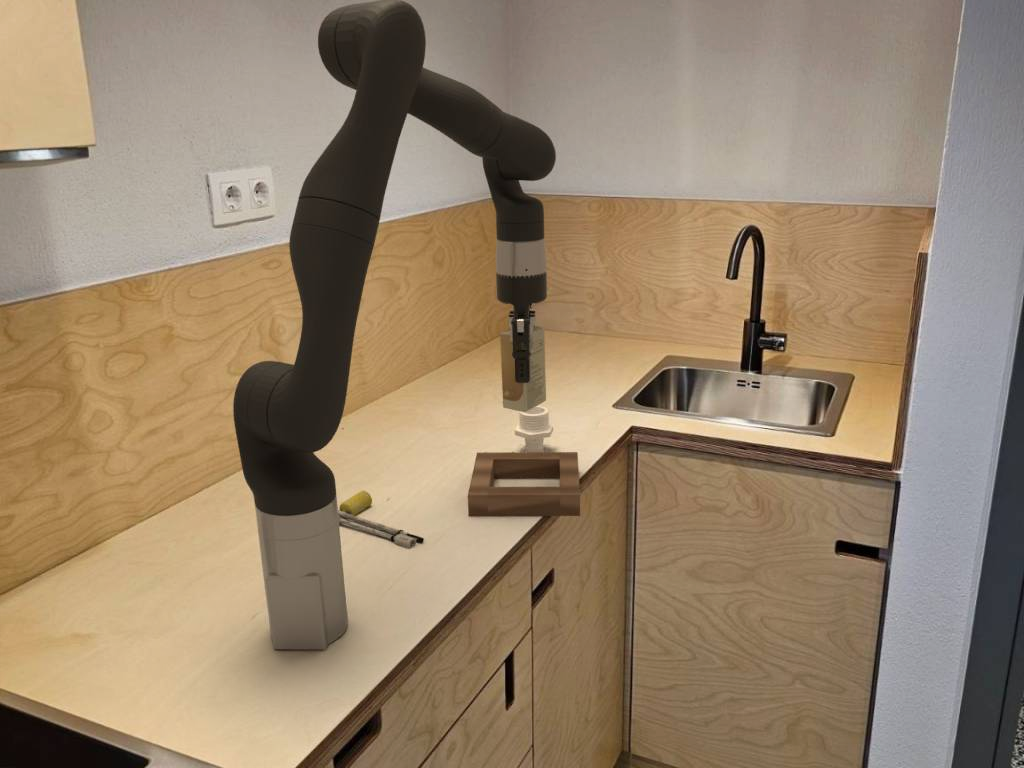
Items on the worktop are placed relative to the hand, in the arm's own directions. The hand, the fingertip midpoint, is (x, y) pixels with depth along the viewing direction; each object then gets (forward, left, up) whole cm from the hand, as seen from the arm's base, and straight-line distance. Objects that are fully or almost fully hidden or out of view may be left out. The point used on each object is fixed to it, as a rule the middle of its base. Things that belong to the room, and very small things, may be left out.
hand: (523, 374), depth 138 cm
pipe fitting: (+17, -1, -20) cm, 26 cm away
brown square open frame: (0, 0, -20) cm, 20 cm away
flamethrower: (-9, +27, -21) cm, 35 cm away
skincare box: (0, 0, -5) cm, 5 cm away
